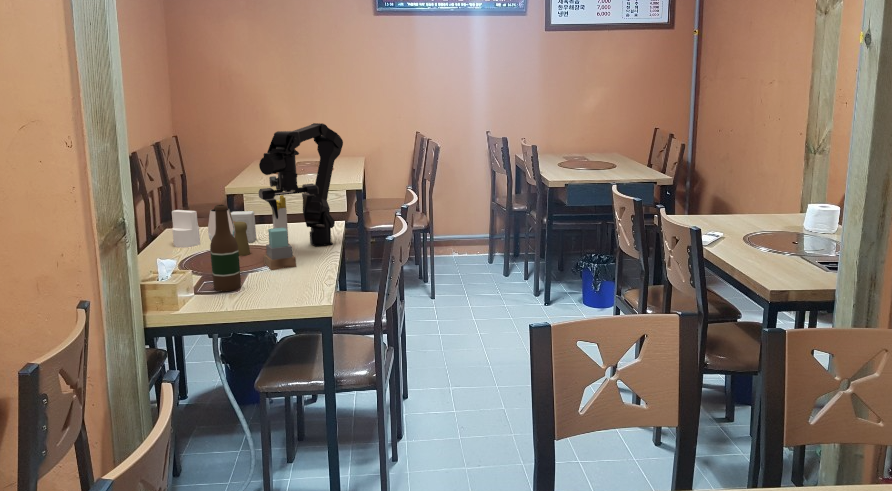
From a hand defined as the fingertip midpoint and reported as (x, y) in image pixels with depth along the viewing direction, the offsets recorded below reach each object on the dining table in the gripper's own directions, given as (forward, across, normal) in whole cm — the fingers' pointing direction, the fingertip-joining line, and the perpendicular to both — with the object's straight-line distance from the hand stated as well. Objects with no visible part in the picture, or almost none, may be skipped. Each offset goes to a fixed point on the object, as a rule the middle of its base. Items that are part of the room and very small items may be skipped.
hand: (290, 217), depth 254 cm
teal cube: (+6, +8, +12) cm, 16 cm away
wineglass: (+12, +25, +14) cm, 32 cm away
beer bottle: (+12, +28, +29) cm, 42 cm away
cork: (+13, +15, -10) cm, 22 cm away
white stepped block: (+13, +29, -34) cm, 46 cm away
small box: (+13, +10, -29) cm, 33 cm away
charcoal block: (+9, +8, +12) cm, 18 cm away
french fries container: (+13, +1, -12) cm, 17 cm away
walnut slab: (+13, +8, +12) cm, 19 cm away
